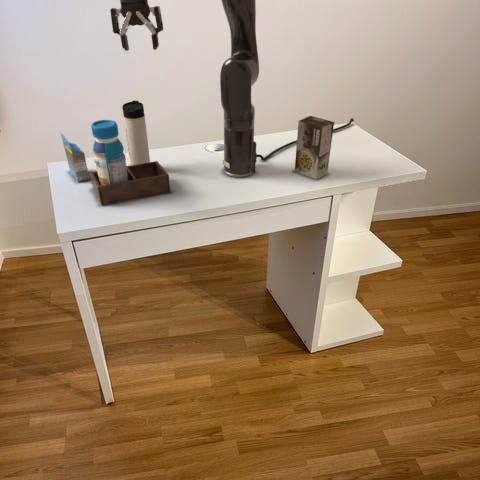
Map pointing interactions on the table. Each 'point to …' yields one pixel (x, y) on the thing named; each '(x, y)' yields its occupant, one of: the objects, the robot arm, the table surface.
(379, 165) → the table surface
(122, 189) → the caddy
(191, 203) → the table surface
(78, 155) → the blue hanging retail box
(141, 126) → the travel mug
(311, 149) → the coffee box
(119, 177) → the beverage bottle
